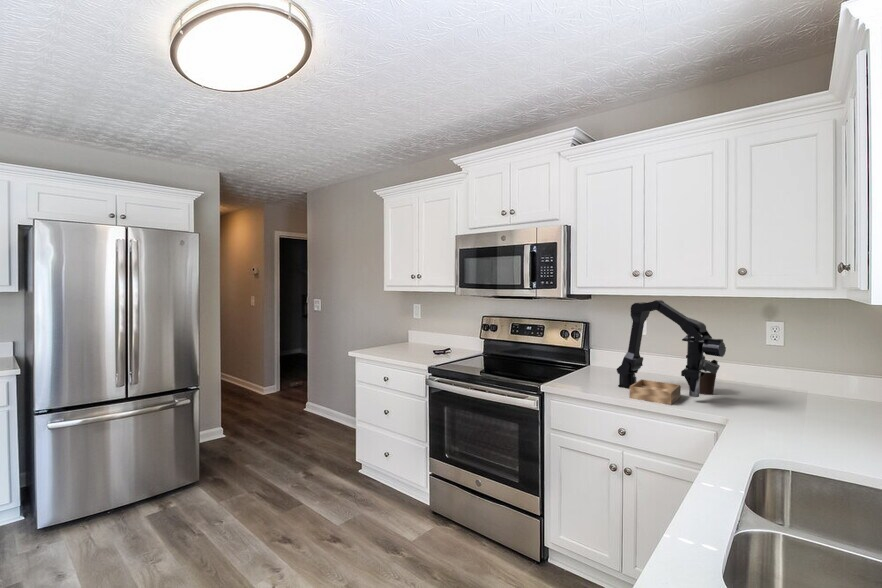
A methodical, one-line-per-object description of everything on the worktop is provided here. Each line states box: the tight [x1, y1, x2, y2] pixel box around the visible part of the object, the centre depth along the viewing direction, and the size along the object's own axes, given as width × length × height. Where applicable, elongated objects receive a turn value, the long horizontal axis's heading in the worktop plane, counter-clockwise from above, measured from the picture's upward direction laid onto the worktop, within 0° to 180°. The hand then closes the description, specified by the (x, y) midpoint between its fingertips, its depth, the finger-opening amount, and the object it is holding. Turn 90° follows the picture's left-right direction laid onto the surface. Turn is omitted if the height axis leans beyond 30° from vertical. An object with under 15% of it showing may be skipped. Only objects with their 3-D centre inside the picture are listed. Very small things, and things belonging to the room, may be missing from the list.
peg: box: [688, 378, 700, 398], centre depth 183 cm, size 4×4×8 cm
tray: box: [628, 379, 682, 406], centre depth 190 cm, size 16×16×5 cm
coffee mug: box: [699, 370, 717, 396], centre depth 198 cm, size 12×9×10 cm
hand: (694, 390), depth 183 cm, fingers closed on peg, 4 cm apart
